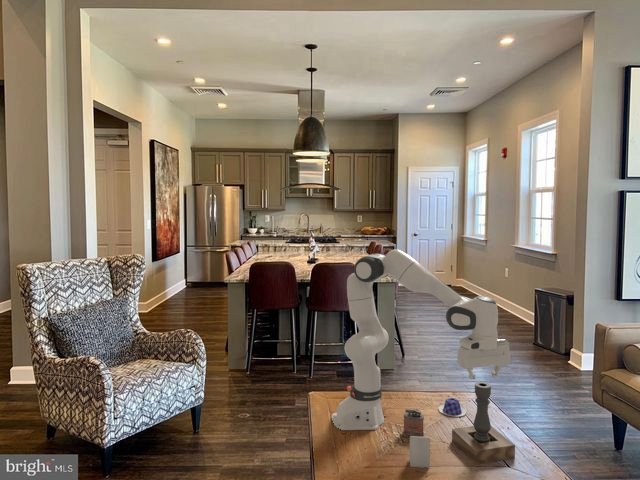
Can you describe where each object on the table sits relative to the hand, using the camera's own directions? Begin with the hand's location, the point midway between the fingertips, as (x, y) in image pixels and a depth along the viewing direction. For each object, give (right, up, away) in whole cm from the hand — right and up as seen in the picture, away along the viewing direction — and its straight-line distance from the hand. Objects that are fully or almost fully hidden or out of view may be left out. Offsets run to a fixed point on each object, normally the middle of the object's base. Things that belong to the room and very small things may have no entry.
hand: (483, 377), depth 164 cm
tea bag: (-25, -29, -7) cm, 39 cm away
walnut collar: (0, -28, +2) cm, 28 cm away
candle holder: (0, -28, +2) cm, 28 cm away
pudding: (-2, -26, +33) cm, 42 cm away
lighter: (-23, -27, +14) cm, 38 cm away
